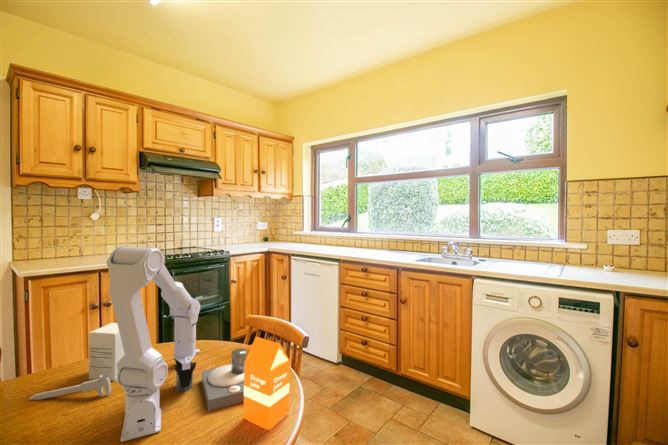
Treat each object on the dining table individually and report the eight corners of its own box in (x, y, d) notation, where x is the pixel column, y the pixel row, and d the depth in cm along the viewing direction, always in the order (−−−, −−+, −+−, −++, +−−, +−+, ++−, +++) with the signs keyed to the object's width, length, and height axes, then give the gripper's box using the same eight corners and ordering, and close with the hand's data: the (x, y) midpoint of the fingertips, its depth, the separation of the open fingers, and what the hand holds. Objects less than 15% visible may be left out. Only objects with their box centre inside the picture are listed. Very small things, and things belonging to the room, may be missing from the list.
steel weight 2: (248, 371, 95) (249, 352, 95) (234, 375, 93) (234, 356, 93) (243, 365, 99) (243, 347, 99) (229, 369, 96) (229, 350, 96)
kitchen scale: (260, 397, 89) (261, 384, 88) (208, 411, 82) (208, 397, 82) (247, 370, 103) (247, 359, 103) (201, 380, 97) (202, 368, 97)
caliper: (111, 395, 89) (111, 373, 88) (108, 397, 88) (109, 375, 87) (31, 398, 86) (31, 376, 86) (27, 401, 85) (28, 378, 85)
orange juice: (264, 403, 86) (265, 332, 86) (289, 414, 81) (290, 339, 81) (242, 418, 79) (244, 341, 79) (268, 431, 75) (270, 349, 74)
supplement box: (111, 365, 105) (111, 322, 104) (135, 367, 104) (136, 323, 104) (87, 379, 96) (87, 331, 95) (114, 382, 95) (114, 333, 95)
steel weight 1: (193, 389, 92) (193, 369, 92) (176, 393, 90) (176, 372, 90) (191, 382, 96) (192, 363, 96) (175, 385, 94) (176, 366, 93)
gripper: (202, 344, 88) (201, 391, 88) (197, 327, 101) (196, 369, 101) (174, 349, 85) (173, 398, 85) (173, 331, 97) (172, 374, 98)
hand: (184, 382), depth 93 cm, fingers closed on steel weight 1, 4 cm apart
